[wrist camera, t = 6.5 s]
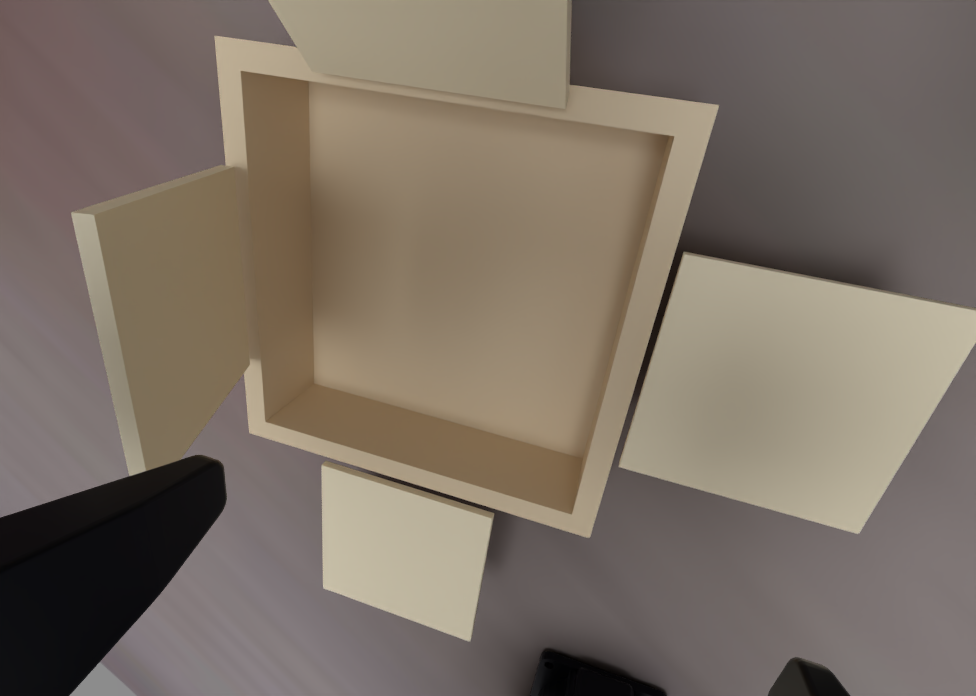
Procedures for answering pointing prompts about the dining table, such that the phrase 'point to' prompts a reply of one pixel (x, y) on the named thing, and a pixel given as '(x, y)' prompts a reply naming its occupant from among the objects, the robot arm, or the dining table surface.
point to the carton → (535, 325)
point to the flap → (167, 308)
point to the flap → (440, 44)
